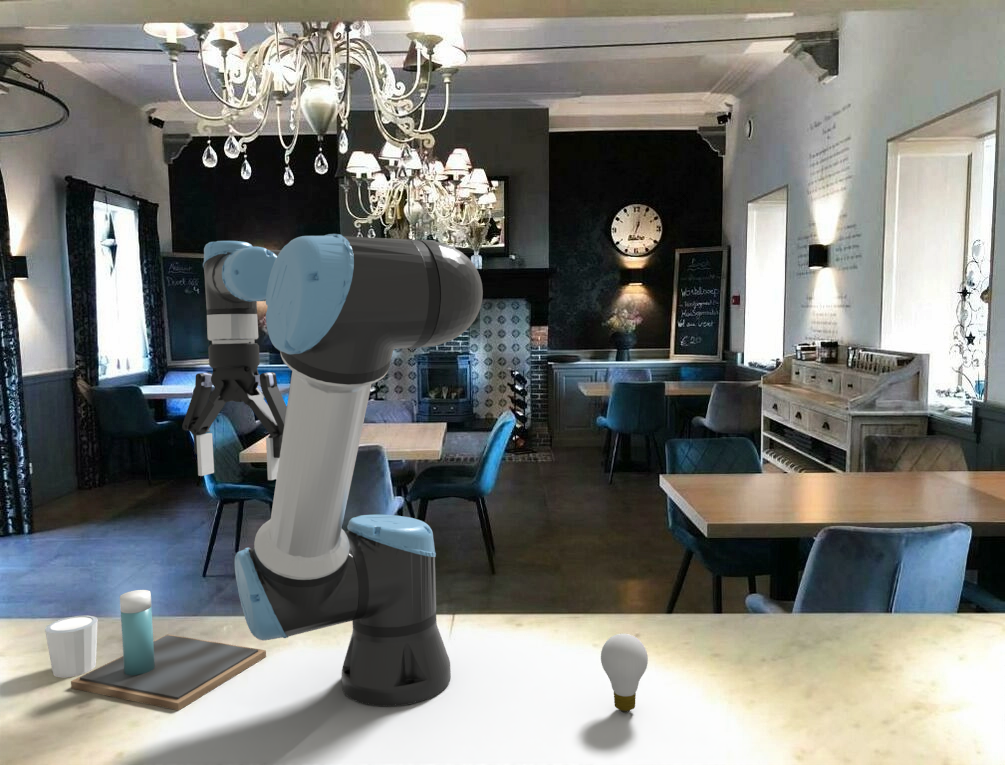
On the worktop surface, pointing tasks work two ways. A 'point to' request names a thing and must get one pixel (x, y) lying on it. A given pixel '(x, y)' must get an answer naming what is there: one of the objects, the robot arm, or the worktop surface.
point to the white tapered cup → (72, 645)
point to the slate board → (172, 672)
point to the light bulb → (624, 668)
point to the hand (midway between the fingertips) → (240, 476)
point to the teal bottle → (137, 632)
